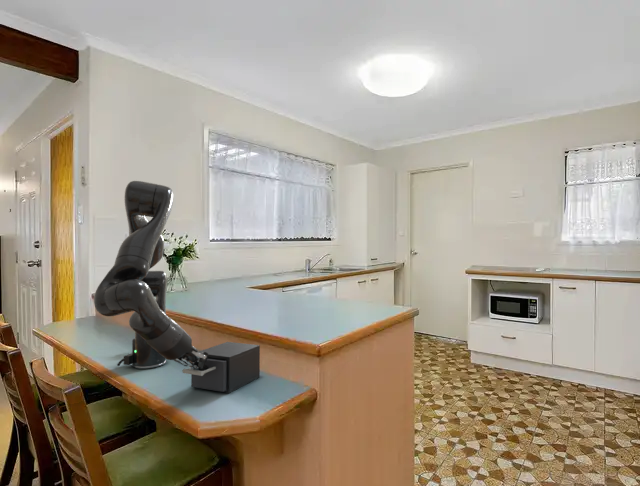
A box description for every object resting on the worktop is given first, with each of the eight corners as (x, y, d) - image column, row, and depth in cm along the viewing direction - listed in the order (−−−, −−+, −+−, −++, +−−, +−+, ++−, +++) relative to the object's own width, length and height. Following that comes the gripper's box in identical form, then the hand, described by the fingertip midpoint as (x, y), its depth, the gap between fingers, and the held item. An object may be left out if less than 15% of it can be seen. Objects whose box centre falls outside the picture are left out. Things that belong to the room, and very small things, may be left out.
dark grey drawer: (208, 399, 97) (208, 368, 97) (175, 393, 101) (175, 363, 101) (252, 377, 114) (252, 350, 114) (222, 372, 118) (222, 346, 118)
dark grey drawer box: (229, 393, 104) (229, 357, 104) (194, 387, 108) (194, 352, 108) (259, 377, 117) (259, 345, 117) (227, 372, 121) (227, 341, 121)
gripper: (196, 327, 92) (230, 361, 104) (157, 323, 96) (194, 356, 108) (179, 353, 87) (216, 386, 98) (138, 348, 91) (179, 380, 103)
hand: (204, 371), depth 103 cm, fingers closed
